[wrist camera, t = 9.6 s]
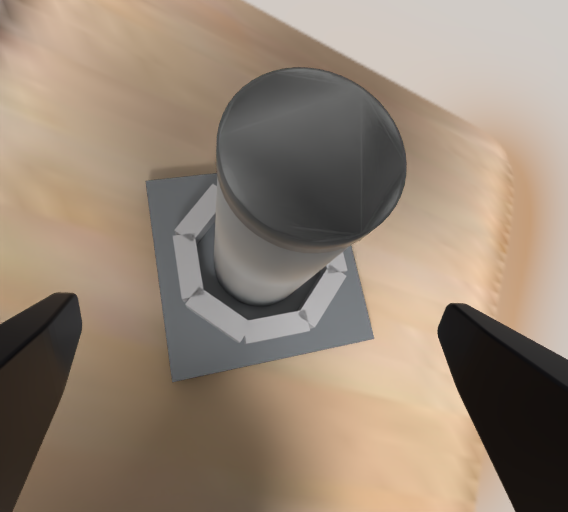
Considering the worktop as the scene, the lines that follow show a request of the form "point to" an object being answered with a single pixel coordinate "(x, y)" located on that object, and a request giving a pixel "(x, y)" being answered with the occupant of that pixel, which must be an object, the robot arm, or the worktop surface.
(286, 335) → the ring socket board
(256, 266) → the canister
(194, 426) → the worktop surface
